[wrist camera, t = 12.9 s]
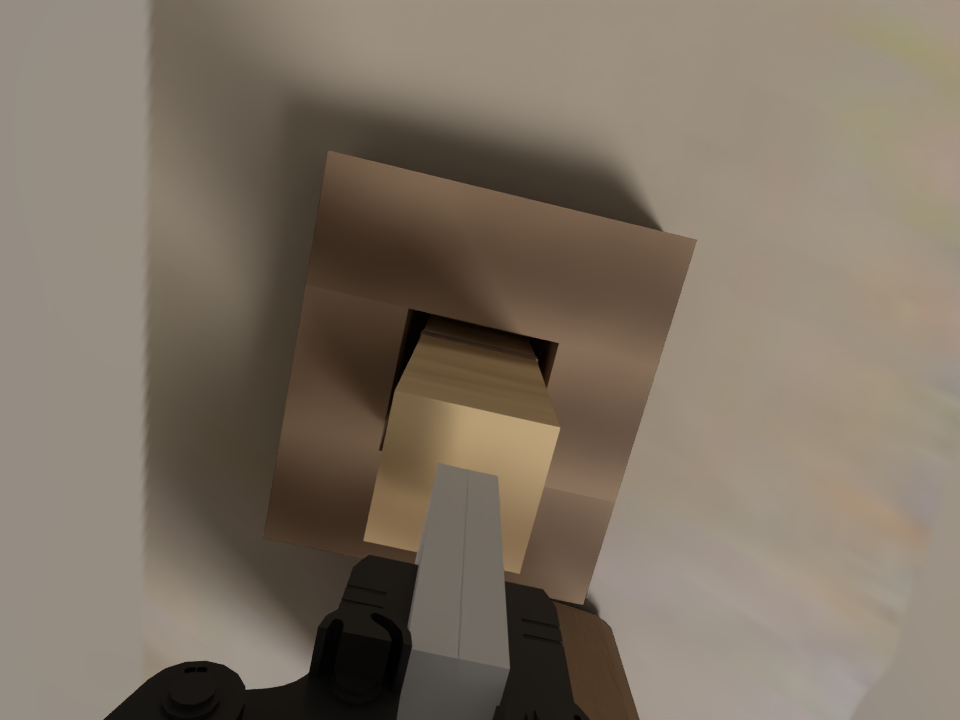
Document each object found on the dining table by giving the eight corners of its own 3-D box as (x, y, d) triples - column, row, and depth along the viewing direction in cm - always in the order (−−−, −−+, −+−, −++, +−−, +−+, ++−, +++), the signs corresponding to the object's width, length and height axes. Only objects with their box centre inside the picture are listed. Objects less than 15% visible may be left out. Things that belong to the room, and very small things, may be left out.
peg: (430, 313, 28) (393, 388, 16) (529, 336, 28) (562, 426, 16) (410, 407, 29) (361, 541, 17) (505, 429, 29) (520, 575, 18)
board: (351, 159, 26) (327, 150, 22) (665, 235, 27) (697, 239, 23) (291, 495, 30) (263, 538, 26) (570, 554, 31) (583, 605, 27)
